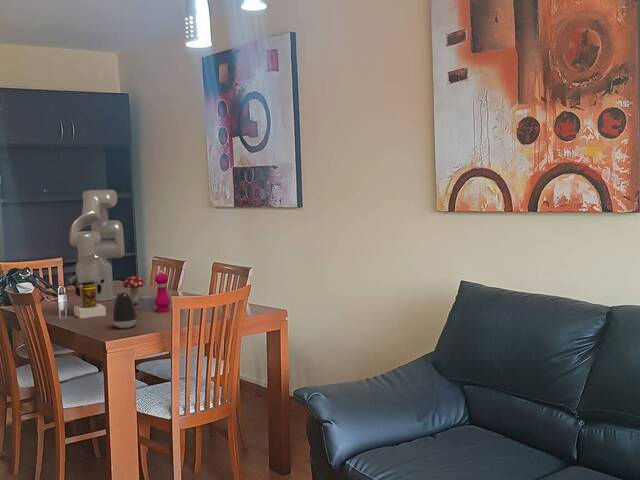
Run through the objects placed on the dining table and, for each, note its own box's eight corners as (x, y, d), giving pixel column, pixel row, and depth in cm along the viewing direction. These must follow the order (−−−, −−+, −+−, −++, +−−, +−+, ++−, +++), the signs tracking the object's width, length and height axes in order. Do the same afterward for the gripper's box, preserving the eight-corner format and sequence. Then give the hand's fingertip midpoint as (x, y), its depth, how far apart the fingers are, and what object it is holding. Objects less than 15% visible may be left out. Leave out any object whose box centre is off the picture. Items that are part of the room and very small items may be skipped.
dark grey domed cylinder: (130, 323, 322) (128, 290, 320) (141, 326, 314) (139, 292, 313) (108, 327, 315) (106, 293, 314) (119, 330, 307) (117, 295, 306)
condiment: (91, 308, 341) (90, 283, 340) (76, 307, 343) (74, 283, 342) (100, 305, 348) (99, 280, 346) (85, 305, 350) (84, 280, 349)
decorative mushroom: (125, 307, 363) (123, 277, 362) (122, 304, 373) (120, 275, 372) (147, 305, 367) (146, 276, 366) (144, 302, 378) (142, 273, 376)
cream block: (74, 314, 348) (73, 306, 347) (99, 311, 354) (98, 303, 354) (80, 318, 338) (79, 310, 337) (106, 315, 344) (105, 306, 343)
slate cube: (138, 309, 357) (137, 297, 357) (148, 307, 362) (148, 295, 361) (145, 310, 353) (144, 298, 353) (155, 308, 357) (154, 296, 357)
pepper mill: (173, 310, 351) (171, 269, 350) (165, 313, 345) (163, 271, 343) (160, 309, 354) (158, 269, 352) (152, 312, 347) (150, 271, 345)
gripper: (102, 256, 351) (104, 291, 353) (66, 260, 342) (68, 295, 344) (107, 258, 345) (109, 293, 347) (69, 261, 336) (72, 297, 338)
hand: (88, 294), depth 345 cm, fingers open, 9 cm apart
